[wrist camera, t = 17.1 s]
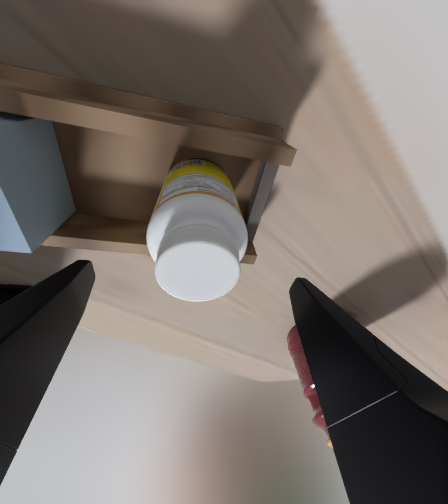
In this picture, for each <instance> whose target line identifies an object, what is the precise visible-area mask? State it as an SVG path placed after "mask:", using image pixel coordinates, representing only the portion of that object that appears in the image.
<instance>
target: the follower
mask: <svg viewBox="0 0 448 504" xmlns="http://www.w3.org/2000/svg"><path fill="white" fill-rule="evenodd" d="M75 211H76V208H75V205H74V201H73V197H72V194H71V190H70V186H69V182H68V179H67V175H66V171H65V167H64V164H63V160H62V156H61V153H60V149H59V145H58V141H57V138H56V134H55V130H54V126H53V123H52V121H50V120H45V119H39V118H34V117H29V116H24V115H18V114H13V113H8V112H3V111H0V251H9V252H21V253H33V252H34V251H35V250H36V249H37V248H38V247H39V246H40V245H41V244H42V243H43V242H44V241H45V240H46V239H47V238H48V237H49V236H50V235H51V234H52V233H53V232H54V231H55V230H56V229H58V228H59V227H60V226H61V225H62V224H63V223H64V222H65V221H66V220H67V219H68V218H69V217H70V216H71V215H72V214H73V213H74V212H75Z"/></svg>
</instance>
